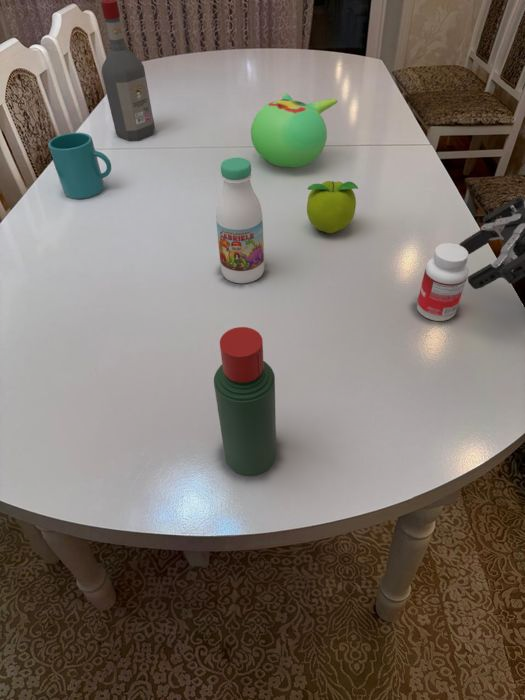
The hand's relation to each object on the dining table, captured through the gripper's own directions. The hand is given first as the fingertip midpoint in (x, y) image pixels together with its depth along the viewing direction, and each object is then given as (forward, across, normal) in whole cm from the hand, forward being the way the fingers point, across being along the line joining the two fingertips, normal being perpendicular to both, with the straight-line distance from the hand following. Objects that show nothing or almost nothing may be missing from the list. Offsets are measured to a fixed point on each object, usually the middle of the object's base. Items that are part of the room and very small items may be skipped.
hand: (466, 266), depth 74 cm
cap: (+15, +30, -25) cm, 42 cm away
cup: (+59, -34, -47) cm, 83 cm away
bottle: (+26, +30, -14) cm, 42 cm away
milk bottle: (+31, -7, -19) cm, 37 cm away
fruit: (+21, -23, -8) cm, 32 cm away
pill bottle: (+8, 0, +4) cm, 9 cm away
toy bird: (+28, -52, -16) cm, 62 cm away
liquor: (+59, -67, -47) cm, 101 cm away
